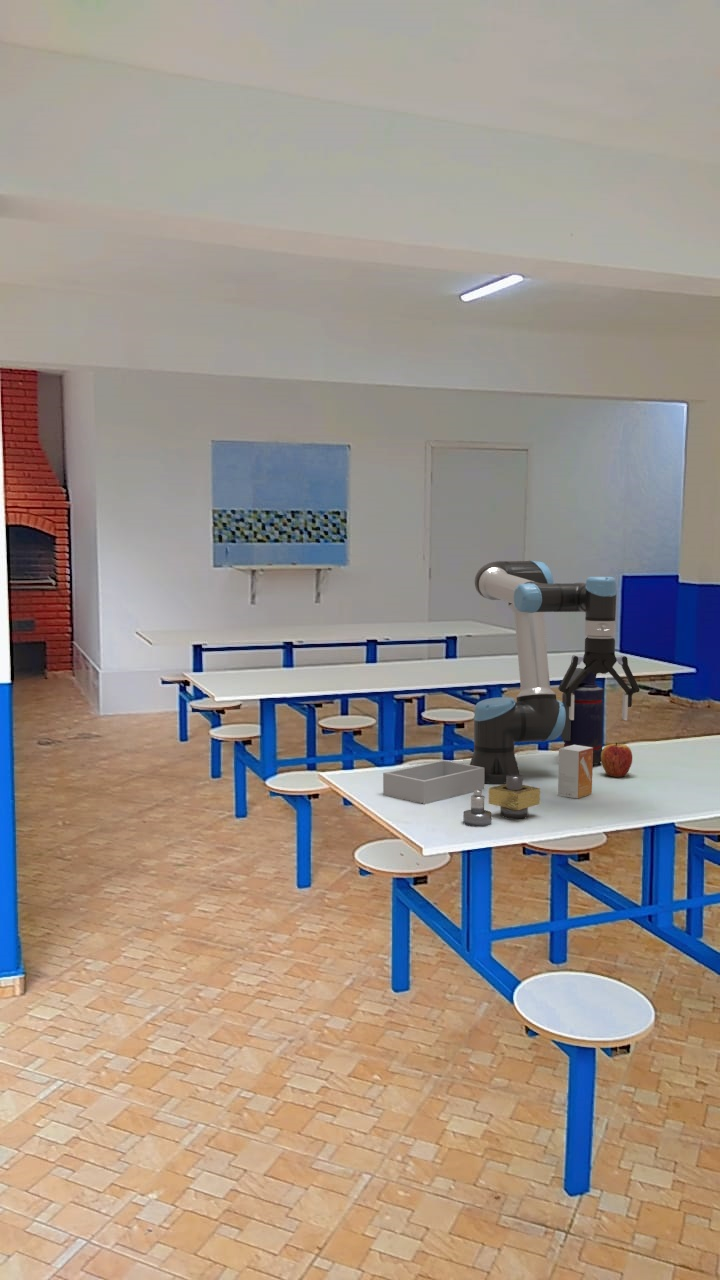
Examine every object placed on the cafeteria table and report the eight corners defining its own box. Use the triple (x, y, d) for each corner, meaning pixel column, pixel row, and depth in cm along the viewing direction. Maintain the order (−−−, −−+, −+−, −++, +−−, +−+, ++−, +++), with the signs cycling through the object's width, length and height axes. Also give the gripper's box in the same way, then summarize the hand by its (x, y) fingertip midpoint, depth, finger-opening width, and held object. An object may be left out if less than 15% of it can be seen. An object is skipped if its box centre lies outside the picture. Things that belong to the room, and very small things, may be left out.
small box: (578, 799, 269) (579, 751, 268) (557, 795, 273) (558, 748, 272) (592, 794, 275) (593, 747, 274) (572, 790, 279) (572, 744, 278)
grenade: (582, 758, 324) (584, 665, 321) (610, 764, 314) (612, 669, 311) (550, 763, 316) (552, 668, 314) (578, 769, 306) (580, 672, 304)
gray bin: (383, 794, 274) (383, 772, 274) (443, 780, 292) (443, 759, 291) (424, 804, 263) (424, 781, 263) (484, 788, 281) (484, 767, 280)
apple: (602, 778, 294) (603, 745, 293) (598, 772, 303) (599, 739, 302) (634, 779, 293) (635, 745, 292) (629, 773, 302) (630, 740, 301)
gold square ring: (488, 803, 252) (488, 788, 251) (510, 797, 258) (510, 782, 258) (517, 810, 245) (518, 794, 245) (539, 803, 252) (539, 788, 251)
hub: (457, 822, 245) (457, 790, 244) (475, 817, 250) (475, 786, 249) (479, 828, 240) (479, 795, 240) (497, 822, 245) (497, 790, 244)
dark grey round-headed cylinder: (494, 815, 252) (495, 776, 251) (511, 810, 257) (511, 772, 256) (516, 820, 247) (517, 780, 246) (533, 815, 252) (533, 776, 251)
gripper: (553, 638, 253) (551, 721, 255) (653, 638, 253) (650, 722, 254) (548, 635, 261) (547, 716, 263) (645, 636, 260) (643, 717, 262)
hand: (598, 719), depth 258 cm, fingers open, 13 cm apart
